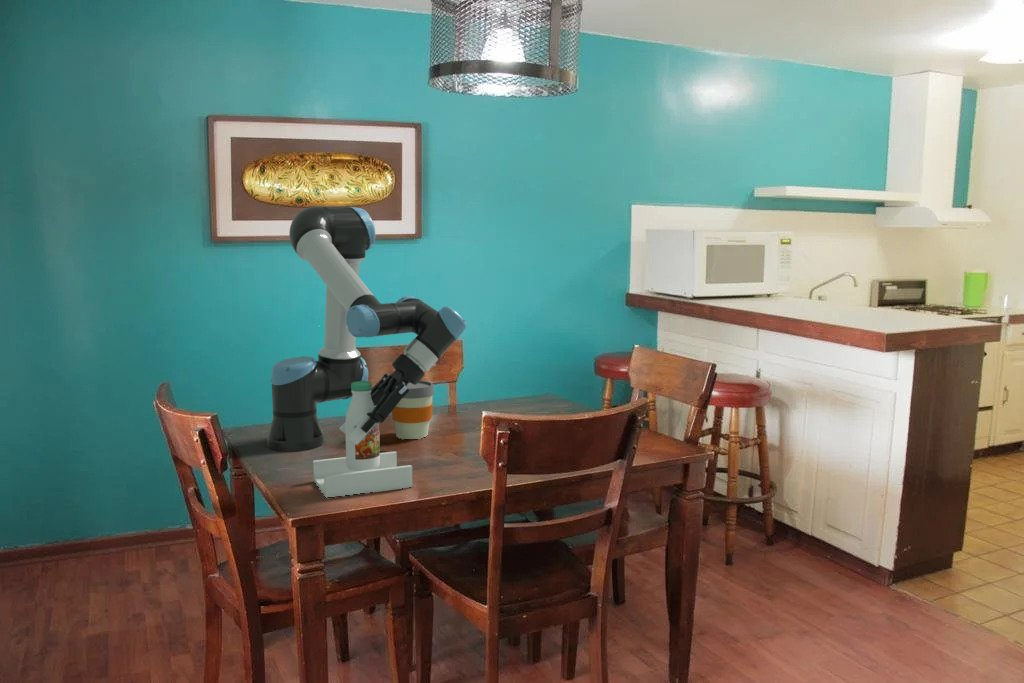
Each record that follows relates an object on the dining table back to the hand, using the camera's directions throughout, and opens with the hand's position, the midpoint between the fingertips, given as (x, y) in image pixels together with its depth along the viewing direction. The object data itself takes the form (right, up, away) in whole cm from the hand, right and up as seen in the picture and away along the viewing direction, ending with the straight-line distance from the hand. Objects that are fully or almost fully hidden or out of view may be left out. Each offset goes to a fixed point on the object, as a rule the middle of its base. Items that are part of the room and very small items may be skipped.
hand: (347, 436), depth 189 cm
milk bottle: (+3, -8, +3) cm, 8 cm away
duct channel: (+3, -12, +3) cm, 12 cm away
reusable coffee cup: (+9, -5, +47) cm, 48 cm away
